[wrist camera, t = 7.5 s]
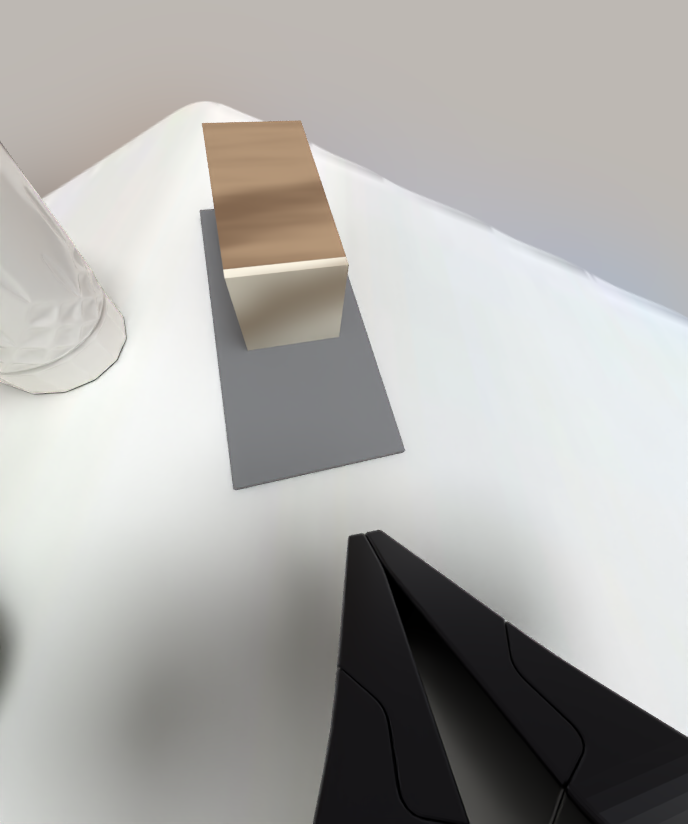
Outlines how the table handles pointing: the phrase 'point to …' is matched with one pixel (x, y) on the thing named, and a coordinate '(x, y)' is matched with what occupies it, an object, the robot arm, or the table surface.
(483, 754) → the robot arm
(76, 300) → the white cup
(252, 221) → the wooden block
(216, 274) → the plate
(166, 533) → the table surface
